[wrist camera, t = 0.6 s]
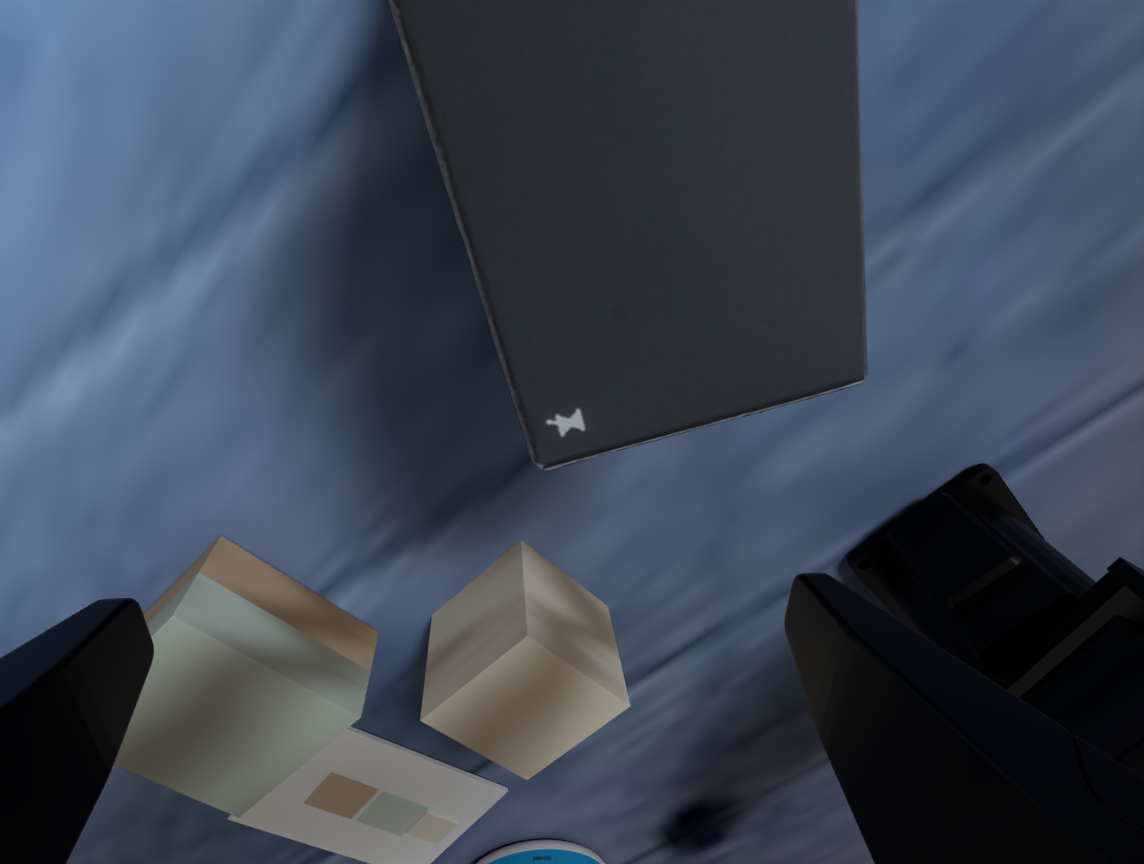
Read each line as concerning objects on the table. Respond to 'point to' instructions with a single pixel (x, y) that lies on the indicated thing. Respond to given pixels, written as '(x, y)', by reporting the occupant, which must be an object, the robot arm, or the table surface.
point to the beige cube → (522, 664)
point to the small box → (651, 204)
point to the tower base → (243, 681)
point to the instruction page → (374, 802)
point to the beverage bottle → (542, 853)
